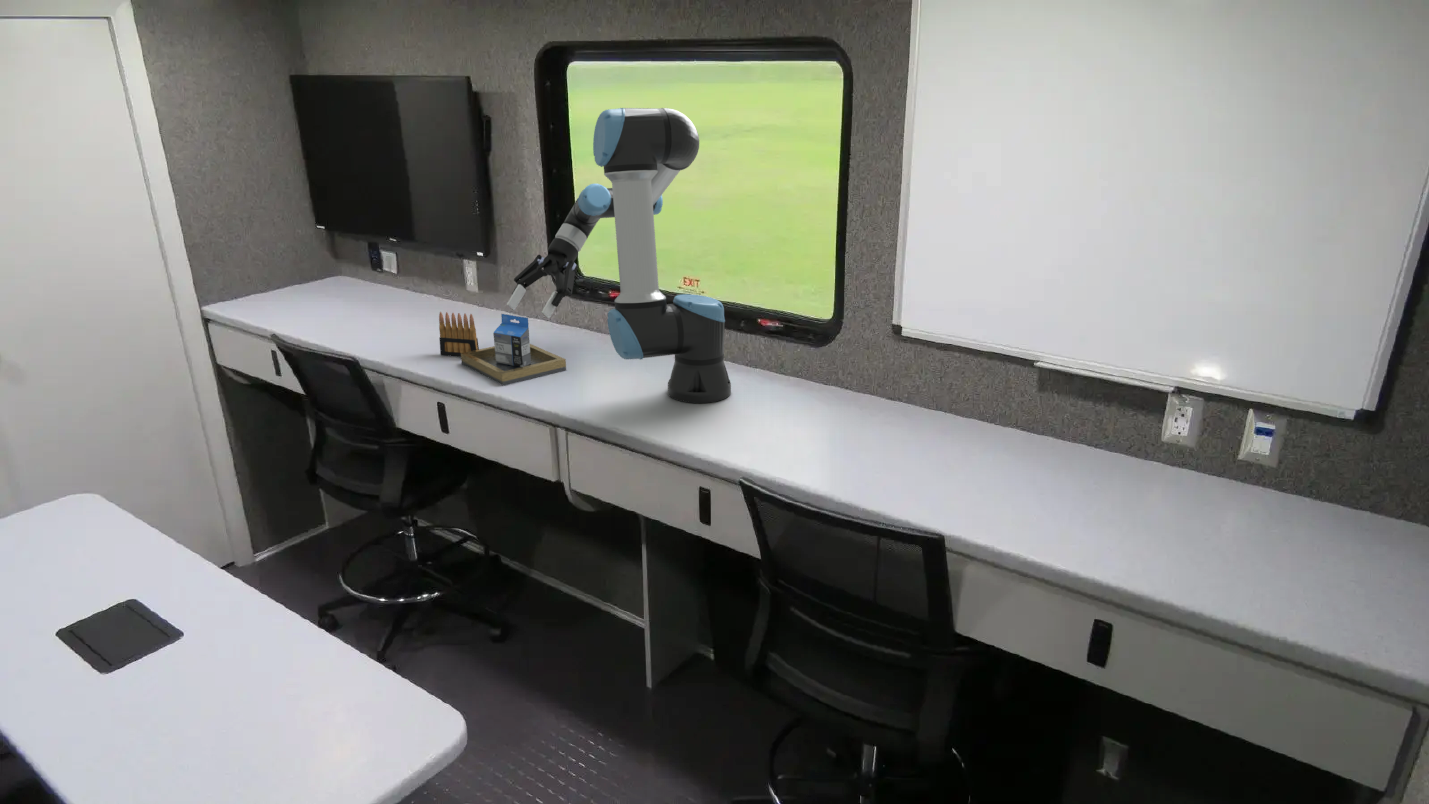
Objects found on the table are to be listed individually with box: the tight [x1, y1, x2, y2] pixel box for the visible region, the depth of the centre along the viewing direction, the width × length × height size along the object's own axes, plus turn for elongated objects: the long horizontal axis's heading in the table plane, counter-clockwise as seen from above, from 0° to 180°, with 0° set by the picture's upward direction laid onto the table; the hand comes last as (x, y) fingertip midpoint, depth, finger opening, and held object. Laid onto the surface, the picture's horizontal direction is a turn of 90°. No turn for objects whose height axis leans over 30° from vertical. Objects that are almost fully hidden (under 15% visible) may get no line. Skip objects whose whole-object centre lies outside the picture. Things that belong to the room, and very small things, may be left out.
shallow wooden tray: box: [460, 343, 567, 386], centre depth 220 cm, size 22×18×3 cm
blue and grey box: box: [493, 313, 531, 367], centre depth 218 cm, size 9×4×12 cm, turn 64°
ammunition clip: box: [438, 311, 480, 358], centre depth 228 cm, size 11×2×12 cm, turn 78°
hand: (527, 311), depth 221 cm, fingers open, 13 cm apart
